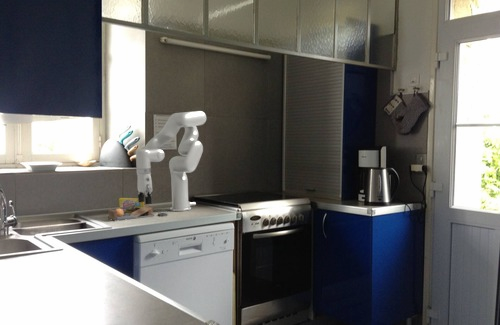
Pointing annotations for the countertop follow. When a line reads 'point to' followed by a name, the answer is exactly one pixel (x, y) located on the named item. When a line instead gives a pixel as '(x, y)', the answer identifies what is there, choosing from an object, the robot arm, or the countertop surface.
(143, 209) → the ramp
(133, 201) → the candy box
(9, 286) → the countertop surface
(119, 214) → the ball
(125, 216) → the runway
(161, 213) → the cradle
